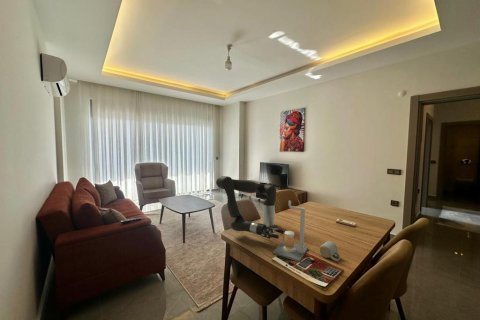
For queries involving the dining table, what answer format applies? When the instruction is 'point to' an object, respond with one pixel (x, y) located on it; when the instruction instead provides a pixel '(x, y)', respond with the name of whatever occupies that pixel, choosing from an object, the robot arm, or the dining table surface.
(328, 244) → the ceramic mug
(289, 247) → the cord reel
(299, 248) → the stand
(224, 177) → the robot arm
